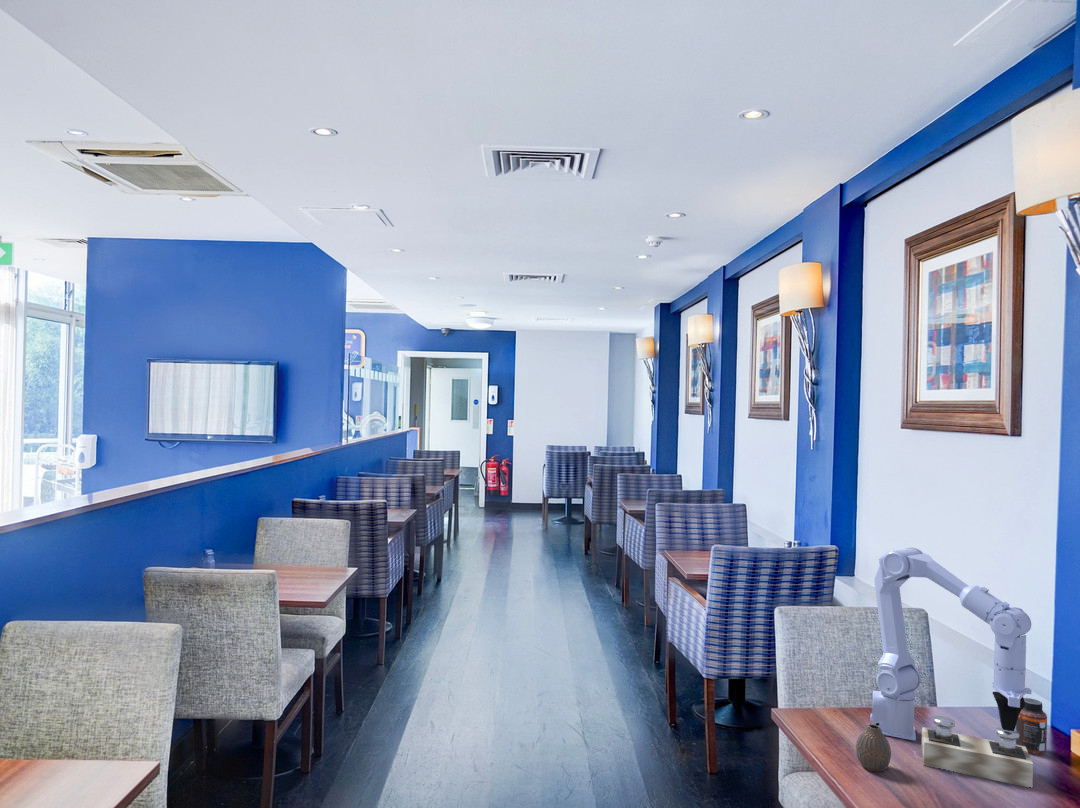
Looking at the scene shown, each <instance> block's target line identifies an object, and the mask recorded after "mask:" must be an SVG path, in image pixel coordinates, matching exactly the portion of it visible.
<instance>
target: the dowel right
mask: <svg viewBox="0 0 1080 808" xmlns="http://www.w3.org/2000/svg"><path fill="white" fill-rule="evenodd" d="M995 733H996V735H998V742H999V751H1002V752H1007V753H1012V754H1015V750H1016V740H1017V739H1019V733H1018V732H1017V731H1016V729H1015V730H1014V731H1008V730H1003V729H1002V726H1000V727H996V729H995Z"/></svg>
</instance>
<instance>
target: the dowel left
mask: <svg viewBox="0 0 1080 808" xmlns="http://www.w3.org/2000/svg"><path fill="white" fill-rule="evenodd" d="M932 719H933V721H932V722H933V723H934V724H935V730H936V739H940V740H946V741H951V733H953V732H952V730H953V729H952V728H955V726H956V722H955V720H954V719H953V718H950V717H948V716H943V715H934V716H933V717H932Z"/></svg>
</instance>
